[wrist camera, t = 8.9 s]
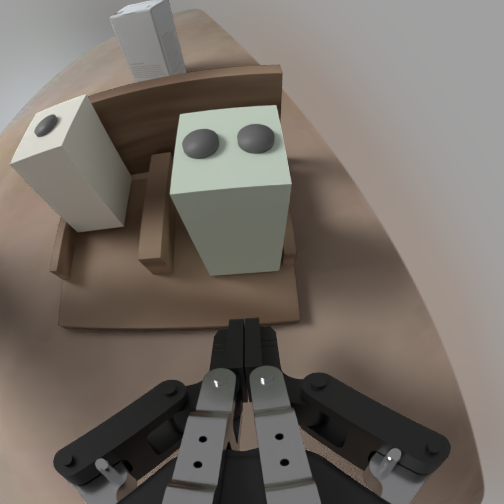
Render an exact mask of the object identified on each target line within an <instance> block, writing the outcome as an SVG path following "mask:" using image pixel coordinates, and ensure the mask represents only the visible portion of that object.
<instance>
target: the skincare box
mask: <svg viewBox="0 0 504 504" xmlns="http://www.w3.org/2000/svg"><path fill="white" fill-rule="evenodd" d="M110 21H111V24H112V27H113V29H114V32H115V34H116V37H117V39H118V42H119V44H120V47H121V50H122V52H123V55H124V57H125V60H126V62H127V65H128V67H129V69H130V72H131V74H132V77H133V79H134V82H135V83H137V82H141V81H146V80H150V79H155V78H160V77H165V76H171V75H176V74H182V73H186V67H185V64H184V60H183V55H182V52H181V48H180V44H179V40H178V36H177V32H176V28H175V24H174V20H173V16H172V12H171V8H170V3H169V0H153V1H147V2H142V3H137V4H132V5H128V6H126V7H124V8H123V9H121V10H120V11H118V12H117V13H116V14H114V15H113V16H111V17H110Z"/></svg>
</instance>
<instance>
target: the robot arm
mask: <svg viewBox="0 0 504 504" xmlns="http://www.w3.org/2000/svg"><path fill="white" fill-rule="evenodd" d="M248 396H249V402H252V403H253V411H254V419H255V426H256V434H257V441H258V448H256V449H252V450H248V451H239V444H240V435H241V425H242V411H243V402H248ZM299 425H300V427H301V428H302V429H303V430H304V431H305V432H307V433H308V434H309V435H311V436H312V437H314V438H315V439H316V440H318V441H319V442H321V443H322V444H324V445H325V446H327V447H328V448H329V449H331V450H332V451H334V452H335V453H337V454H338V455H340V456H342V457H343V458H345V459H346V460H348V461H349V462H351V463H352V464H354V465H356V466H357V467H359V468H360V469H362V470H364V474H363V479H364V482H365V484H366V485H367V486H368V487H369V488H371V489H372V491H373V492H372V491H371V490H369V489H367V488H366V487H364V486H363V485H361V484H360V483H358V482H357V481H356V480H354V479H353V478H351V477H350V476H348V475H347V474H346V473H344V472H343V471H341V470H340V469H339V468H337V467H336V466H334V465H333V464H332V463H330V462H329V461H328V460H326V459H325V458H323V457H322V456H320V455H318V454H316V453H314V452H311V451H307V450H305V448H304V444H303V440H302V436H301V433H300V429H299ZM179 448H180V450H179V454H178V457H176V458H174V459H172V460H170V461H169V462H168V463H166V464H165V465H164V466H163V467H162V468H160V469H159V470H158V471H157V472H156V473H154V474H153V475H152V476H151V477H149V478H148V479H147V480H146V481H145V482H143V483H142V484H141V485H140V486H138V487H137V481H138V480H139V479H140V478H142V477H143V476H144V475H146V474H147V473H148V472H150V471H151V470H152V469H154V468H155V467H156V466H157V465H159V464H160V463H161V462H163V461H164V460H165V459H166V458H168V457H169V456H170V455H171V454H173V453H174V452H175V451H176V450H178V449H179ZM449 453H450V443H449V441H448V440H447V438H446V437H444V436H443V435H441V434H439V433H437V432H435V431H433V430H430V429H428V428H426V427H424V426H422V425H420V424H418V423H416V422H414V421H412V420H410V419H408V418H406V417H404V416H402V415H401V414H399V413H397V412H395V411H393V410H391V409H389V408H387V407H385V406H383V405H382V404H380V403H378V402H376V401H374V400H372V399H370V398H369V397H367V396H365V395H363V394H361V393H360V392H358V391H356V390H354V389H353V388H351V387H349V386H347V385H345V384H344V383H342V382H340V381H339V380H337V379H335V378H333V377H332V376H330V375H328V374H325V373H312V374H310V375H308V376H306V377H305V378H304V379H303V380H302V379H295V378H291V377H289V376H287V375H285V374H284V373H283V371H282V370H281V367H280V359H279V352H278V346H277V338H276V332H275V331H274V330H273V329H272V328H271V326H268V327H260V322H259V317H256V318H245V324H244V318H243V319H229V326H228V329H224V330H219V331H218V332H217V333H216V335H215V336H214V342H213V351H212V356H211V364H210V371H209V372H208V373H207V374H206V375H205V376H204V379H203V381H201V382H199V383H197V384H193V385H189V386H185V385H184V384H183V383H182V382H180V381H177V380H167V381H164V382H162V383H160V384H159V385H157V386H156V387H154V388H153V389H152V390H150V391H149V392H147V393H146V394H144V395H143V396H142V397H140V398H139V399H137V400H136V401H134V402H133V403H132V404H130V405H129V406H127V407H126V408H124V409H123V410H121V411H120V412H118V413H117V414H115V415H114V416H112V417H111V418H109V419H108V420H106V421H105V422H103V423H102V424H100V425H99V426H97V427H96V428H94V429H93V430H91V431H89V432H88V433H86V434H85V435H83V436H82V437H80V438H78V439H77V440H75V441H74V442H72V443H71V444H69V445H67V446H66V447H64V448H62V449H61V450H59V451H58V452H57V453H56V455H55V457H54V461H53V463H54V467H55V469H56V471H57V472H58V473H60V474H61V475H62V476H63V477H64V478H65V479H66V480H67V481H68V482H69V483H70V484H71V485H72V486H74V487H75V488H76V489H77V490H78V491H79V493H80V494H81V496H82V497H83V498H84V500H85V501H86V502H87V504H409V503H410V501H411V500H412V499H413V497H414V496H415V495H416V493H417V492H418V490H419V489H420V488H421V486H422V485H423V483H424V482H425V481H426V480H427V479H428V478H429V477H430V476H431V475H432V474H433V473H434V472H435V471H436V470H437V468H438V467H439V466H440V465H441V464H442V463H443V462H444V461H445V459H446V458H447V457H448V455H449Z"/></svg>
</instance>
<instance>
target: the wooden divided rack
mask: <svg viewBox="0 0 504 504" xmlns="http://www.w3.org/2000/svg"><path fill="white" fill-rule="evenodd" d="M281 97H282V70H281V67H280V65H257V66H241V67H229V68H219V69H210V70H202V71H195V72H188V73H182V74H176V75H171V76H165V77H160V78H155V79H150V80H146V81H141V82H137V83H133V84H129V85H125V86H121V87H117V88H114V89H110V90H107V91H103V92H100V93H97V94H94V95H90V96H88V98H89V100H90V102H91V104H92V106H93V108H94V110H95V112H96V113H97V115H98V117H99V119H100V121H101V123H102V125H103V127H104V128H105V130H106V132H107V134H108V136H109V138H110V140H111V141H112V143H113V145H114V147H115V149H116V150H117V152H118V154H119V156H120V157H121V159H122V161H123V163H124V164H125V166H126V168H127V170H128V171H129V173H130V175H131V176H132V182H131V188H130V193H129V199H128V205H127V211H126V217H125V224H124V227H117V228H109V229H101V230H93V231H86V232H77V231H76V230H75V229H74V228H73V227H71V226H70V225H69V224H68V223H67V222H66V221H65V220H64V219H63V218H62V217H61V218H60V222H59V226H58V230H57V235H56V240H55V244H54V249H53V255H52V260H51V266H50V272H52V273H53V274H55V275H56V276H58V277H60V278H61V279H63V283H62V291H61V300H60V311H59V324H58V326H61V327H64V328H75V329H99V330H186V329H213V328H228V326H229V319H243V318H244V324H245V318H256V317H259V322H260V326H261V325H274V324H285V323H295V322H299V321H300V314H299V305H298V296H297V287H296V279H295V271H294V261H295V258H296V254H297V252H296V245H295V238H294V231H293V224H292V218H291V211H290V204H289V208H288V215H287V222H286V229H285V236H284V243H283V249H282V256H281V263H280V269H279V271H270V272H257V273H244V274H230V275H216V276H210V274H209V272H208V271H207V269H206V267H205V265H204V263H203V261H202V259H201V257H200V255H199V253H198V251H197V249H196V247H195V245H194V243H193V241H192V239H191V237H190V235H189V233H188V231H187V229H186V227H185V225H184V223H183V221H182V219H181V217H180V215H179V213H178V211H177V209H176V206H175V204H174V202H173V200H172V198H171V196H170V187H171V178H172V169H173V160H174V152H175V145H176V137H177V130H178V124H179V117H180V114H186V113H193V112H200V111H208V110H217V109H227V108H238V107H252V106H270V105H276V106H277V110H278V115H279V120H280V118H281Z"/></svg>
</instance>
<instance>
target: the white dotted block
mask: <svg viewBox="0 0 504 504" xmlns="http://www.w3.org/2000/svg"><path fill="white" fill-rule="evenodd" d="M10 165H11V166H12V167H13V168H14V169H15V170H16V171H17V173H18V174H19V175H20V176H21V177H22V178H23V179H24V180H25V181H26V182H27V183H28V184H29V185H30V186H31V187H32V188H33V189H34V190H35V192H36V193H37V194H38V195H39V196H40V197H41V198H42V199H43V200H44V201H45V202H46V203H47V204H48V205H49V206H50V207H51V208H52V209H54V210H55V211H56V212H57V213H58V214H59V215H60V216H61V217H62V218H63V219H64V220H65V221H66V222H67V223H68V224H69V225H70V226H71V227H73V228H74V229H75V230H76V231H77V232H86V231H93V230H101V229H109V228H117V227H124V224H125V217H126V211H127V205H128V199H129V193H130V188H131V182H132V176H131V175H130V173H129V171H128V170H127V168H126V166H125V164H124V163H123V161H122V159H121V157H120V156H119V154H118V152H117V150H116V149H115V147H114V145H113V143H112V141H111V140H110V138H109V136H108V134H107V132H106V130H105V128H104V127H103V125H102V123H101V121H100V119H99V117H98V115H97V113H96V112H95V110H94V108H93V106H92V104H91V102H90V100H89V98H88V96H87V94H85V95H82V96H79V97H76V98H73V99H71V100H68V101H65V102H62V103H60V104H57V105H55V106H52V107H50V108H47V109H45V110H43V111H40V112H38V113H36V115H35V116H34V118H33V120H32V122H31V123H30V125H29V127H28V129H27V131H26V133H25V134H24V136H23V138H22V140H21V142H20V144H19V146H18V148H17V150H16V152H15V154H14V157H13V159H12V161H11V163H10Z"/></svg>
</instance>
